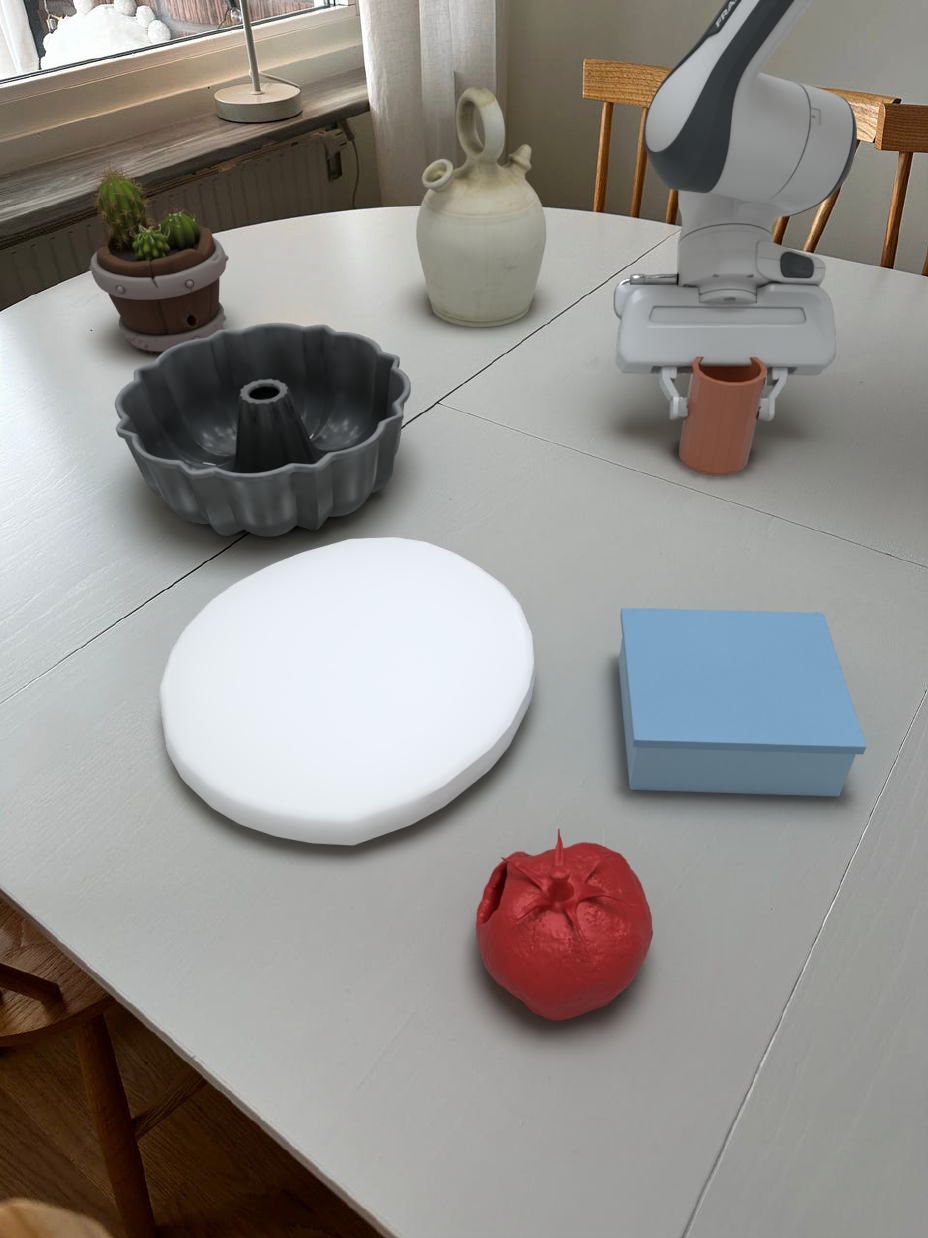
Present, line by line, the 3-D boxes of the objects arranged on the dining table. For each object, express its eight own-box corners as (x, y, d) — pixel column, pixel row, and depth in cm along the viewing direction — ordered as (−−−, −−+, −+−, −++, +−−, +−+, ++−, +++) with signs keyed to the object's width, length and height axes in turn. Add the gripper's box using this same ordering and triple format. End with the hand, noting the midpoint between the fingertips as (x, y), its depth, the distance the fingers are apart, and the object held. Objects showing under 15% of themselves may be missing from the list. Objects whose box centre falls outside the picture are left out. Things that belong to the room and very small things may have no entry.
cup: (741, 441, 98) (760, 349, 92) (752, 479, 93) (772, 385, 87) (675, 440, 99) (689, 349, 92) (682, 477, 94) (697, 384, 87)
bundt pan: (420, 560, 85) (415, 463, 79) (115, 577, 84) (83, 480, 78) (411, 404, 105) (406, 316, 98) (163, 416, 104) (141, 328, 97)
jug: (434, 344, 115) (426, 112, 98) (408, 289, 126) (397, 72, 109) (558, 328, 117) (571, 100, 100) (523, 276, 128) (529, 62, 111)
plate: (363, 890, 56) (67, 697, 68) (379, 939, 61) (100, 751, 72) (606, 588, 70) (328, 472, 82) (604, 647, 75) (341, 529, 87)
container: (805, 670, 75) (823, 612, 71) (843, 804, 66) (867, 747, 62) (613, 665, 76) (621, 607, 72) (624, 797, 66) (634, 739, 62)
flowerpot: (264, 324, 119) (236, 150, 105) (183, 381, 109) (140, 197, 96) (171, 301, 124) (132, 132, 111) (85, 353, 114) (31, 175, 101)
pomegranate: (679, 971, 57) (703, 884, 51) (545, 1073, 53) (553, 992, 47) (570, 854, 63) (579, 763, 57) (442, 937, 59) (437, 849, 53)
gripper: (617, 260, 90) (614, 408, 90) (843, 261, 89) (841, 411, 89) (610, 286, 96) (608, 425, 96) (821, 287, 95) (819, 428, 95)
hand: (722, 418), depth 92 cm, fingers closed on cup, 6 cm apart
